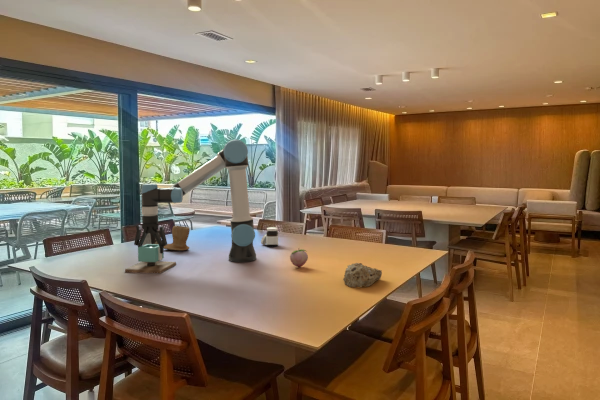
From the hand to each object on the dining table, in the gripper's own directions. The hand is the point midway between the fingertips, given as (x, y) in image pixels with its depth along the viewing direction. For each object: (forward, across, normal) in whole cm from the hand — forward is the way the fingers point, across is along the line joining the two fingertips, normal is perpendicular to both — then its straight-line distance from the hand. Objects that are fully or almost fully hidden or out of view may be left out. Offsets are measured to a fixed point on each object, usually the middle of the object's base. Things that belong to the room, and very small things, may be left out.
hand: (151, 259), depth 212 cm
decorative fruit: (+5, -73, -12) cm, 74 cm away
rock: (+5, -105, +11) cm, 106 cm away
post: (+5, 0, 0) cm, 5 cm away
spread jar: (+5, -47, -67) cm, 82 cm away
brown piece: (+5, +6, -46) cm, 47 cm away
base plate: (+5, 0, 0) cm, 5 cm away
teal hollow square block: (0, 0, 0) cm, 0 cm away
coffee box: (+5, +8, -17) cm, 19 cm away
